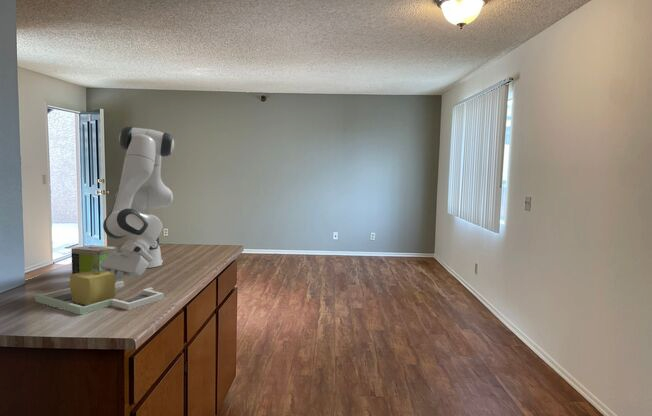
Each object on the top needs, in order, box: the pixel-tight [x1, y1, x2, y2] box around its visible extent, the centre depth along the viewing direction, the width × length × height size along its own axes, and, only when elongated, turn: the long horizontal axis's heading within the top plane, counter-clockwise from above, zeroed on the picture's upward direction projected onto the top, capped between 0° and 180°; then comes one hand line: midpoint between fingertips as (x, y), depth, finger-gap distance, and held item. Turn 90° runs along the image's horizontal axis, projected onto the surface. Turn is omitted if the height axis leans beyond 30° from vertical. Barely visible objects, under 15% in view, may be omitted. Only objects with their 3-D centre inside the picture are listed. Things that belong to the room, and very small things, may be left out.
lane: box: [34, 280, 165, 315], centre depth 146 cm, size 35×28×2 cm
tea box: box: [70, 244, 119, 282], centre depth 167 cm, size 15×10×15 cm
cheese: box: [69, 271, 116, 306], centre depth 144 cm, size 10×11×10 cm
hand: (110, 282), depth 148 cm, fingers closed, pressing on cheese
